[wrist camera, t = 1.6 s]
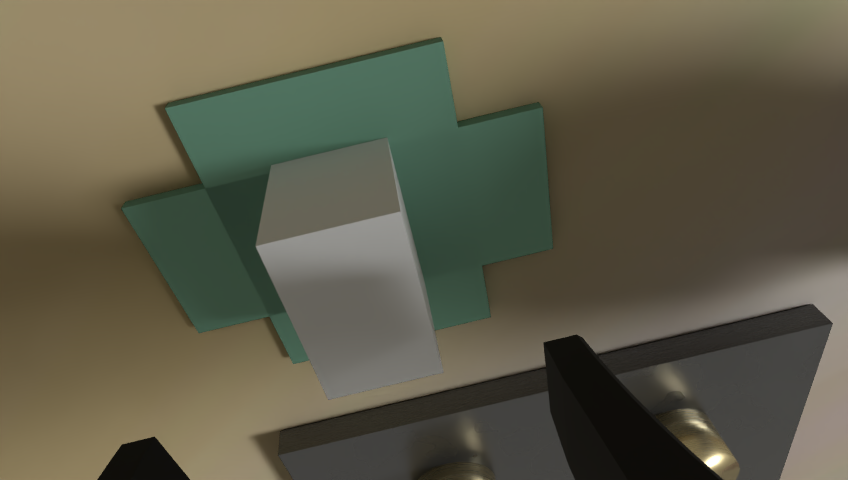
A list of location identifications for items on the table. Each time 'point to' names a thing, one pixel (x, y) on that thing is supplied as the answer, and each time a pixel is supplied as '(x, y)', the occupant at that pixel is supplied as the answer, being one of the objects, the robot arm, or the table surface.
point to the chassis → (535, 430)
